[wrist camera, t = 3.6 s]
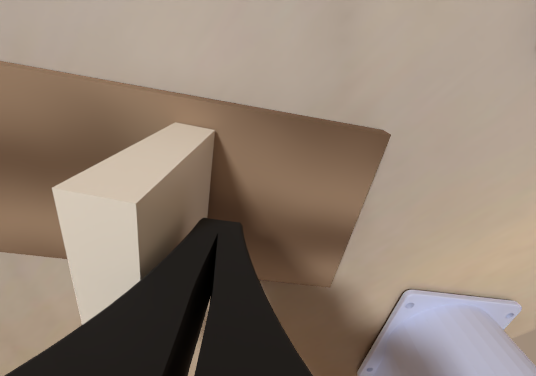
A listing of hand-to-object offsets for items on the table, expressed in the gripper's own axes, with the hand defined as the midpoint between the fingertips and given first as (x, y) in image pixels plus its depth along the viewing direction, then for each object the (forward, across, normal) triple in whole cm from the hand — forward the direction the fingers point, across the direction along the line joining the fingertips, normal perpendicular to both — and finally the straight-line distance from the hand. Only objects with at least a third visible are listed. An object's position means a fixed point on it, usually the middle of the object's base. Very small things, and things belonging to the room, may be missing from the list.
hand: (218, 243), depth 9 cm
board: (+4, +4, +1) cm, 6 cm away
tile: (+3, +2, 0) cm, 4 cm away
